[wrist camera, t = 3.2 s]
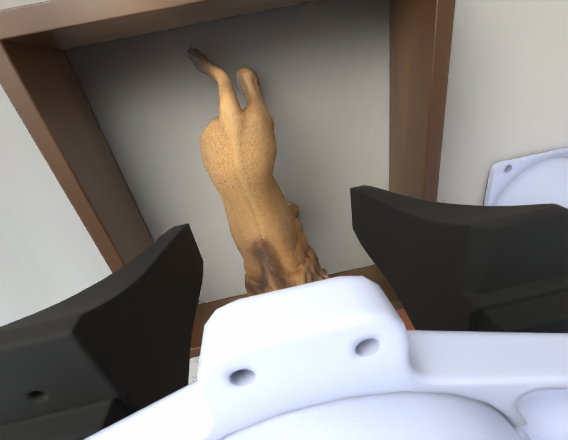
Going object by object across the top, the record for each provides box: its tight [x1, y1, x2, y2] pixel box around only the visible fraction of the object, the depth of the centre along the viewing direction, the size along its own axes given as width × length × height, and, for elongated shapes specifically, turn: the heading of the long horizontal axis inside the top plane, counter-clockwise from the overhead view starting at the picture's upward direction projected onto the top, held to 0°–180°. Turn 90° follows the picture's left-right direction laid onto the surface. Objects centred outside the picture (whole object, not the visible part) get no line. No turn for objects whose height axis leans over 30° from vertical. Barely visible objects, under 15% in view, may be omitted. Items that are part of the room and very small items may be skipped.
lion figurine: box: [186, 47, 329, 297], centre depth 13 cm, size 15×5×9 cm, turn 25°
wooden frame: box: [0, 0, 455, 358], centre depth 16 cm, size 18×19×4 cm
